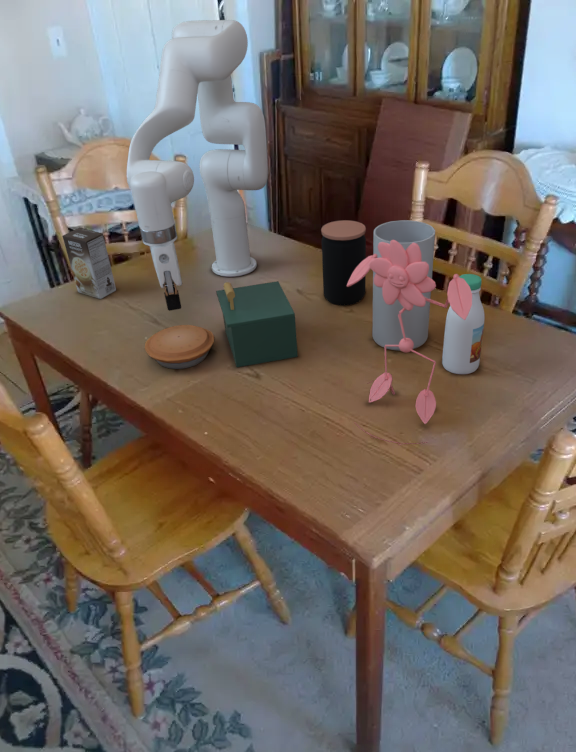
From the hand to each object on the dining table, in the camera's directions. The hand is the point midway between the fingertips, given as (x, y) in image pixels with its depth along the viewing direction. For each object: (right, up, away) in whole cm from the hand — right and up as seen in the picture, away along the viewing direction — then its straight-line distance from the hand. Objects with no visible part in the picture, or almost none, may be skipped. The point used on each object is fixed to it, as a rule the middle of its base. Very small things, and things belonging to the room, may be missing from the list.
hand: (174, 308), depth 154 cm
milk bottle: (+64, -15, -14) cm, 67 cm away
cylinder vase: (+52, -8, -4) cm, 53 cm away
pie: (+3, -12, -5) cm, 13 cm away
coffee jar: (+41, +5, +14) cm, 43 cm away
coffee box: (-26, +9, +24) cm, 37 cm away
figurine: (+47, -26, -27) cm, 61 cm away
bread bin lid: (+19, -1, -9) cm, 21 cm away
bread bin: (+20, -9, -2) cm, 22 cm away
